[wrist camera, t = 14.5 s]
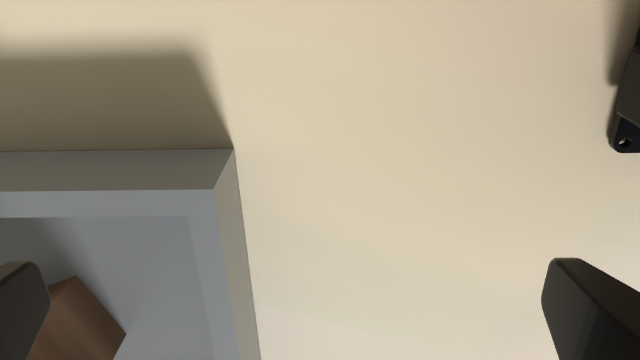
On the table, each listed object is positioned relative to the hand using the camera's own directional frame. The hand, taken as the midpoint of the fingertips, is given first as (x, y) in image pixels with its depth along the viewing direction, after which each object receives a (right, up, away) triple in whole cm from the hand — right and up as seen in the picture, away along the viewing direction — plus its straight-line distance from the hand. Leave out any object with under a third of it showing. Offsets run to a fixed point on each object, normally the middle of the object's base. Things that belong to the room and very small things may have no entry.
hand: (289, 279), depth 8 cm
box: (-12, -5, +18) cm, 22 cm away
